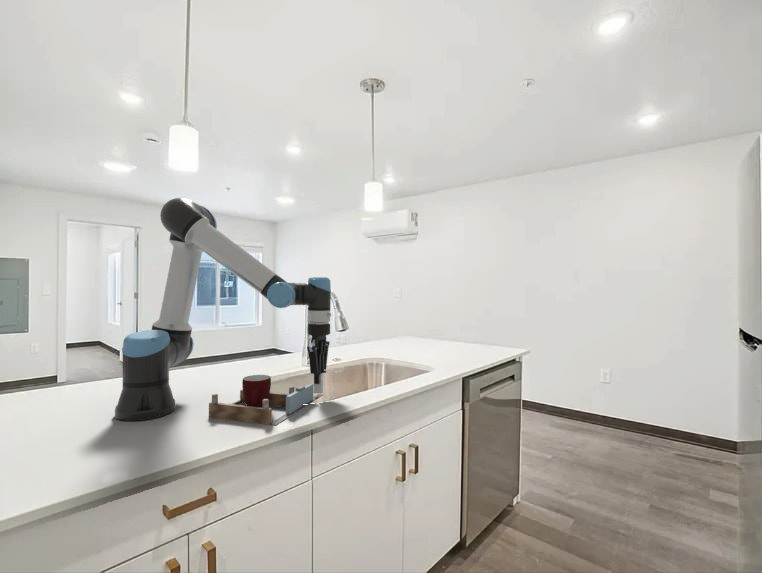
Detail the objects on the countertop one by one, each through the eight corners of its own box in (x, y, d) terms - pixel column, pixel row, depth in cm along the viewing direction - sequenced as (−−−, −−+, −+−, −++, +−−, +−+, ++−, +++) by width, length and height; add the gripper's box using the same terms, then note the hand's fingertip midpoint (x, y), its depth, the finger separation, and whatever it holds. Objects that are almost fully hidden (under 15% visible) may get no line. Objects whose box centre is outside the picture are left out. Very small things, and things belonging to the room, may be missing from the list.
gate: (285, 413, 112) (285, 393, 112) (309, 398, 127) (309, 381, 127) (290, 414, 112) (290, 394, 112) (313, 399, 127) (313, 381, 127)
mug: (271, 417, 111) (271, 382, 111) (241, 419, 108) (241, 384, 108) (270, 405, 121) (270, 373, 121) (242, 408, 118) (242, 375, 118)
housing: (208, 417, 110) (208, 394, 110) (268, 389, 139) (268, 372, 139) (275, 425, 104) (275, 401, 104) (323, 395, 133) (323, 376, 133)
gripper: (321, 325, 124) (320, 399, 124) (336, 321, 136) (336, 388, 136) (299, 324, 126) (299, 397, 126) (317, 320, 138) (316, 387, 138)
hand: (318, 392), depth 131 cm, fingers closed
